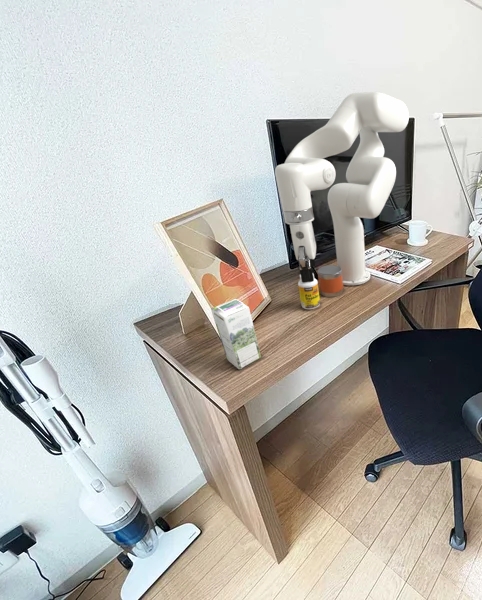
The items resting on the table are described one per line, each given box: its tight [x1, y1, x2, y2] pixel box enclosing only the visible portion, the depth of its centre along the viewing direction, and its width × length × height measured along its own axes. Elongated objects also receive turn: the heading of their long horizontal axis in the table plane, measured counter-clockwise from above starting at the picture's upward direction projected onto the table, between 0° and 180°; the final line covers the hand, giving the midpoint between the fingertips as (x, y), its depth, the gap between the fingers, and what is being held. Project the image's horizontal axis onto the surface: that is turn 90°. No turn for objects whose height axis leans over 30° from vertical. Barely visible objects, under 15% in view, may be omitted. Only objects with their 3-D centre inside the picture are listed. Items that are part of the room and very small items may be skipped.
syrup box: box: [210, 298, 262, 371], centre depth 73 cm, size 6×6×14 cm
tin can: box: [317, 264, 344, 298], centre depth 103 cm, size 8×8×8 cm
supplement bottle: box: [297, 273, 321, 311], centre depth 95 cm, size 6×6×10 cm
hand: (309, 273), depth 93 cm, fingers open, 9 cm apart
